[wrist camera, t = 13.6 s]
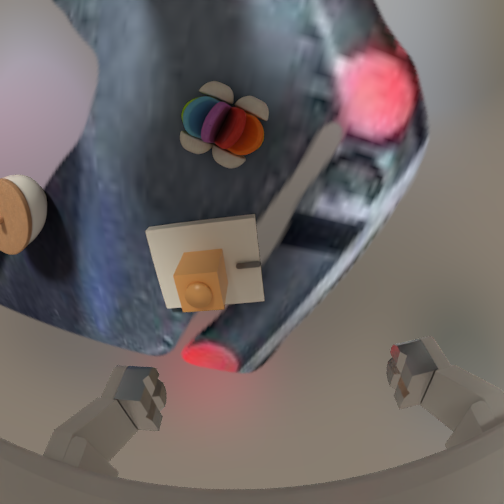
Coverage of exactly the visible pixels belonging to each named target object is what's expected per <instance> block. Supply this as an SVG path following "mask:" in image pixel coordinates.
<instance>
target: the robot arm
mask: <svg viewBox="0 0 504 504" xmlns="http://www.w3.org/2000/svg"><path fill="white" fill-rule="evenodd" d="M390 353H391V356H392V358H391V359H390V360H389V361H388V364H387V379H388V382H389V385H390V386H391V387H392V388H394V389H395V390H396V391H395V394H394V397H395V400H396V402H397V405H398V407H399V409H404V408H408V407H412V406H415V405H419V404H421V406H422V407H423V408H424V409H426V410H427V411H428V412H429V413H431V414H432V415H433V416H435V417H436V418H437V419H438V420H440V421H441V422H442V423H443V424H445V425H446V426H447V427H448V428H450V429H451V430H452V431H453V433H452V435H451V436H450V438H449V439H448V440H447V442H446V444H445V446H446V448H447V449H446V450H443V451H441V452H438V453H435V454H433V455H430V456H427V457H424V458H422V459H419V460H416V461H413V462H410V463H406V464H403V465H400V466H397V467H393V468H390V469H386V470H382V471H378V472H374V473H370V474H366V475H362V476H357V477H352V478H348V479H343V480H337V481H332V482H325V483H318V484H311V485H303V486H295V487H284V488H270V489H202V488H188V487H177V486H168V485H159V484H153V483H146V482H140V481H134V480H129V479H124V478H119V477H118V471H117V470H116V469H115V468H114V467H113V466H112V465H111V464H110V463H109V461H110V460H111V459H112V458H113V457H114V456H115V455H116V454H117V453H118V451H119V450H120V449H121V448H122V447H123V446H124V445H125V444H126V443H127V442H128V441H129V440H130V439H131V438H132V437H133V435H134V434H135V433H136V432H137V431H138V430H150V431H159V429H160V425H161V421H162V415H161V413H160V411H161V410H162V409H163V408H164V407H165V404H166V389H165V386H164V384H163V382H161V381H160V380H159V379H158V376H159V373H158V371H157V369H156V368H153V367H137V366H136V367H135V366H118V365H117V366H116V367H115V368H114V369H113V371H112V373H111V375H110V378H109V380H108V382H107V384H106V387H105V389H104V391H103V393H102V396H101V398H96V399H95V400H93V401H92V402H91V403H90V404H88V405H87V406H86V407H84V408H83V409H81V410H80V411H79V412H77V413H76V414H75V415H74V416H72V417H71V418H69V419H68V420H67V421H65V422H64V423H63V424H61V425H60V426H58V427H57V428H56V429H54V432H53V434H52V436H51V438H50V440H49V443H48V445H47V447H46V450H45V452H44V454H43V455H40V454H37V453H35V452H32V451H30V450H27V449H25V448H22V447H20V446H17V445H16V444H13V443H11V442H9V441H7V440H5V439H2V438H0V504H504V393H503V391H502V390H501V389H500V388H498V387H496V386H494V385H492V384H490V383H488V382H486V381H484V380H482V379H481V378H479V377H477V376H475V375H473V374H471V373H469V372H467V371H465V370H464V369H462V368H460V367H458V366H456V365H452V366H451V365H450V363H449V361H448V360H447V358H446V356H445V355H444V353H443V352H442V350H441V349H440V347H439V346H438V344H437V342H436V341H435V339H434V338H433V337H431V336H427V337H424V338H419V339H415V340H411V341H407V342H402V343H398V344H394V345H393V346H392V347H391V351H390Z"/></svg>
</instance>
